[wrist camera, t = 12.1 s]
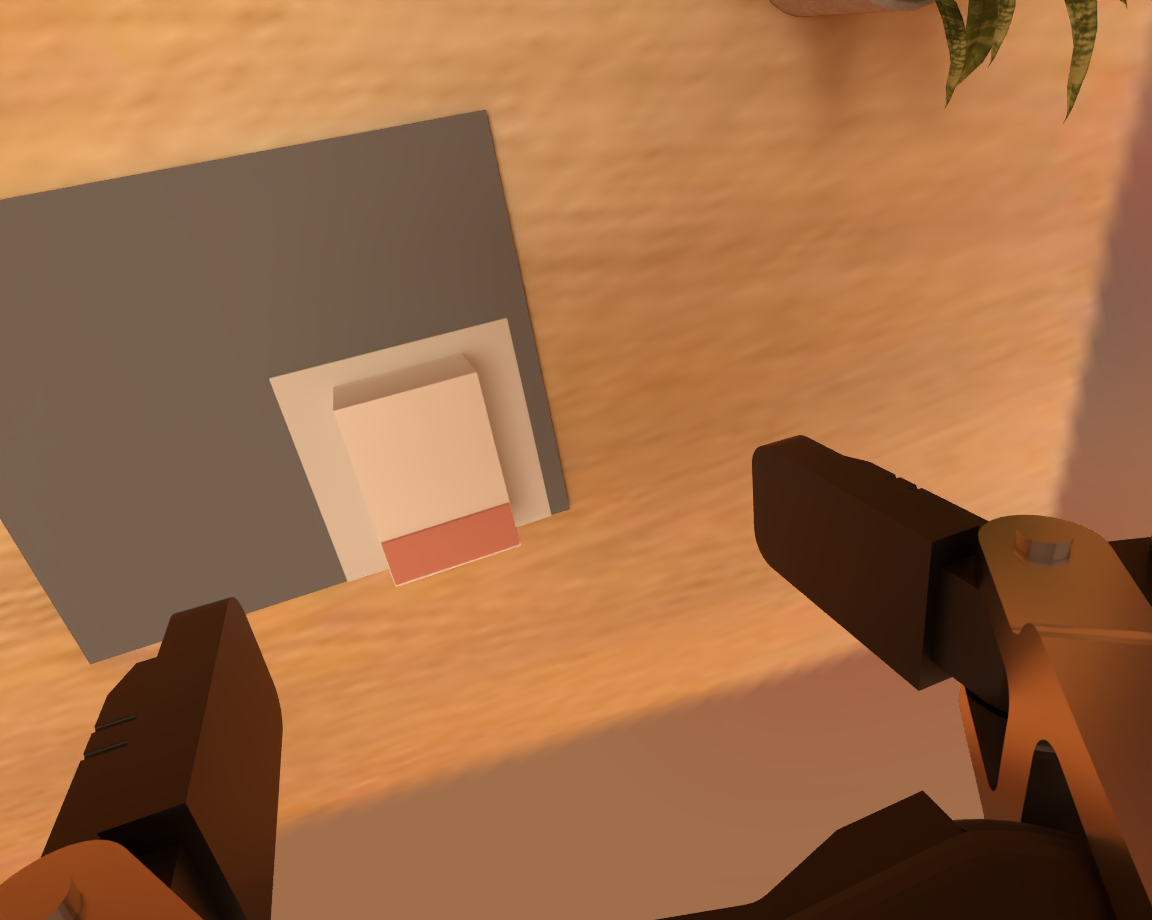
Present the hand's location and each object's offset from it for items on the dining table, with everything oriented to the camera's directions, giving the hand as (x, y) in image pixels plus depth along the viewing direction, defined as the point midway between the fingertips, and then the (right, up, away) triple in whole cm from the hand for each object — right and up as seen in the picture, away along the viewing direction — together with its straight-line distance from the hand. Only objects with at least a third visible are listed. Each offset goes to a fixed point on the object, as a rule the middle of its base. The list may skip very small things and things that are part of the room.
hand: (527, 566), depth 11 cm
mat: (-12, +4, +18) cm, 22 cm away
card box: (-6, +2, +20) cm, 21 cm away
